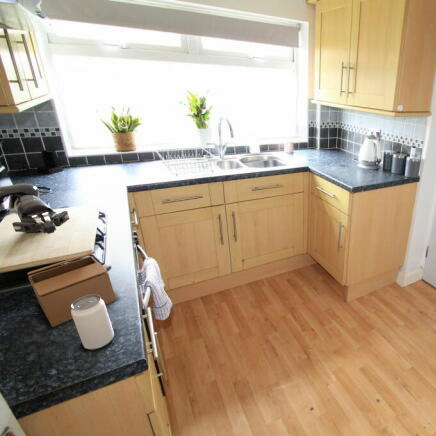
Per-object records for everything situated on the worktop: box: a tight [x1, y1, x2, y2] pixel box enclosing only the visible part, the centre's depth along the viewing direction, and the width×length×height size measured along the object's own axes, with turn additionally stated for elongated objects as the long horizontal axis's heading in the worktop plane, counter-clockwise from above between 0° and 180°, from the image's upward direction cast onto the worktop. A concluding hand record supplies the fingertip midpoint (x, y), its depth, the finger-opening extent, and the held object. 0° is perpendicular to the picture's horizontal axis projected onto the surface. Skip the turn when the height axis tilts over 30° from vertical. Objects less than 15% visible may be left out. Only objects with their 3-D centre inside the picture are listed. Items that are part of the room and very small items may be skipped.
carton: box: [27, 255, 117, 328], centre depth 90 cm, size 15×14×10 cm
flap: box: [26, 251, 96, 276], centre depth 90 cm, size 15×7×1 cm, turn 140°
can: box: [71, 295, 115, 350], centre depth 77 cm, size 6×6×12 cm
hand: (49, 230), depth 87 cm, fingers closed
